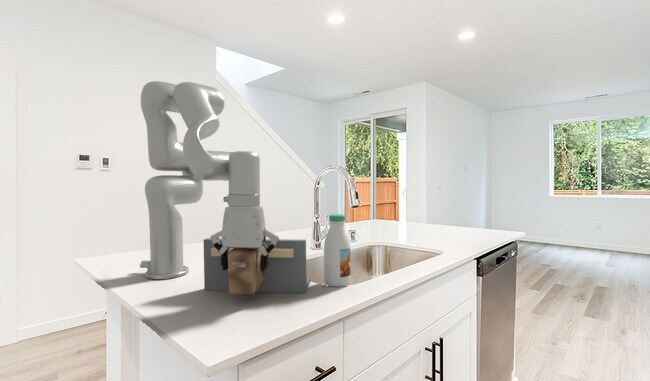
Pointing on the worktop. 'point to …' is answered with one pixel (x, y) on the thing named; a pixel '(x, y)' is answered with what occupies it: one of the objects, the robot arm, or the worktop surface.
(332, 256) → the milk bottle
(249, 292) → the cabinet
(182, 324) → the worktop surface
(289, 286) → the wall board
